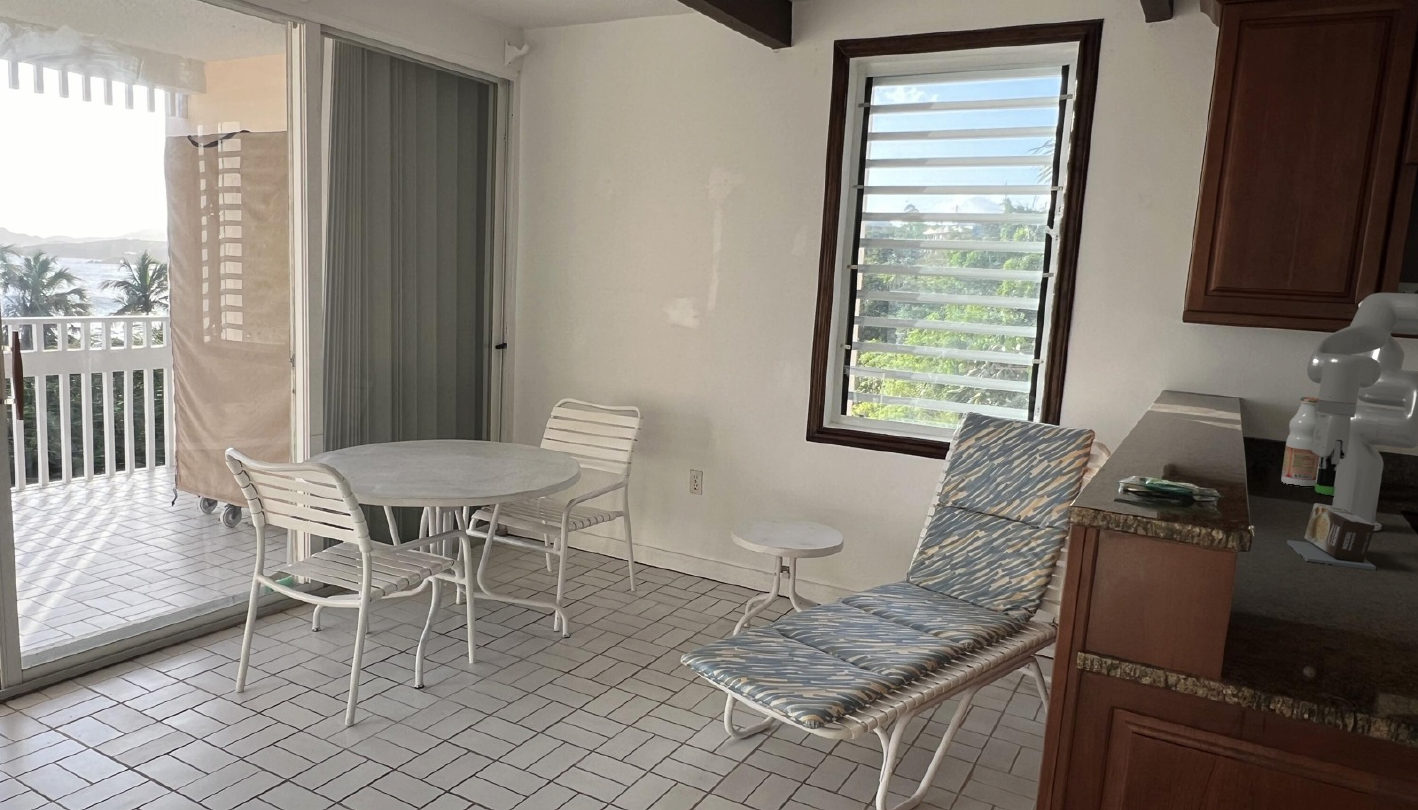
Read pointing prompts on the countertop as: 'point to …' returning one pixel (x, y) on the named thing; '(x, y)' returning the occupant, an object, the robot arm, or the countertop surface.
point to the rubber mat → (1325, 556)
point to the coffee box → (1339, 532)
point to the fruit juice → (1301, 446)
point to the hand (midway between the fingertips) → (1325, 485)
